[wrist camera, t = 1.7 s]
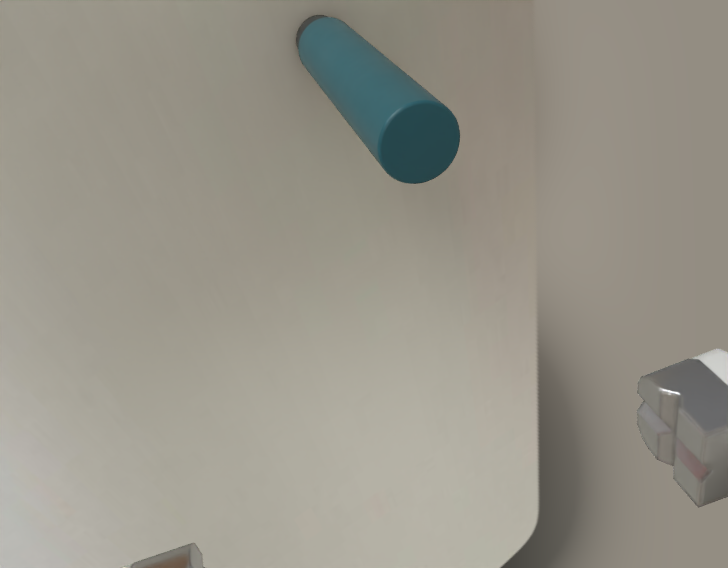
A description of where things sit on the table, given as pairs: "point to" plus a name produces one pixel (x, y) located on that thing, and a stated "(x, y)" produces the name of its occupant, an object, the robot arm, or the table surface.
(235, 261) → the table surface
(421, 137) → the marker
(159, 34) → the table surface
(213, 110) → the table surface
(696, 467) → the robot arm
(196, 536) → the table surface
